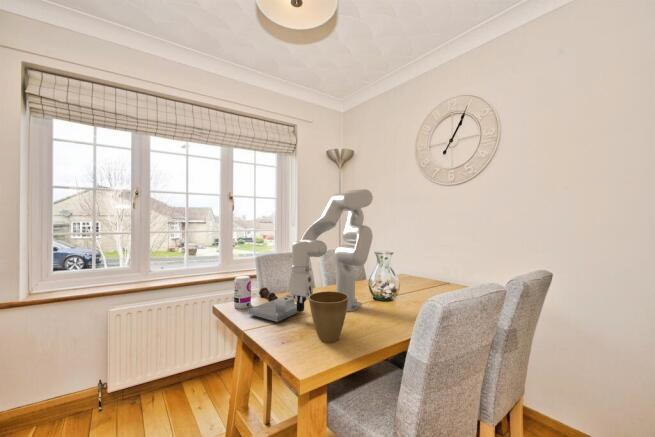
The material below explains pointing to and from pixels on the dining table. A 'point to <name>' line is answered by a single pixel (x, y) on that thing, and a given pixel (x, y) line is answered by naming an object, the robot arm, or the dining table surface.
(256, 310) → the grey mounting base
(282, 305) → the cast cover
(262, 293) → the bolt
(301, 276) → the robot arm
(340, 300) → the plant pot
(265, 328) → the dining table surface
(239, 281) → the supplement can
